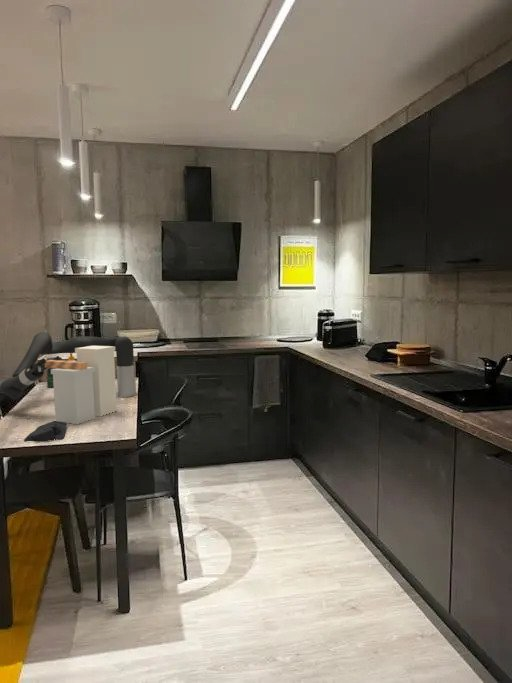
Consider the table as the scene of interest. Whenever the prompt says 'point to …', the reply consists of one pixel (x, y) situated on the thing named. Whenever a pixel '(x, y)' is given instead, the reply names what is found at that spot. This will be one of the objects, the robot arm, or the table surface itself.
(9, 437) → the table surface
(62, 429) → the dark slate chunk
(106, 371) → the stand
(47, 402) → the table surface
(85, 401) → the block
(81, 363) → the board
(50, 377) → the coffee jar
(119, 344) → the robot arm
